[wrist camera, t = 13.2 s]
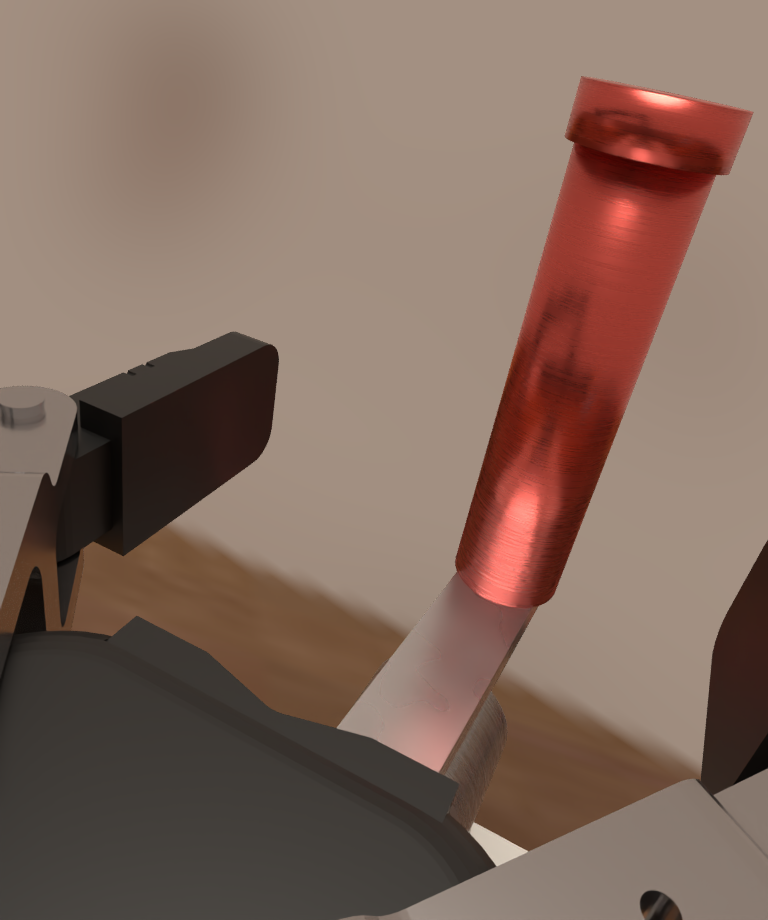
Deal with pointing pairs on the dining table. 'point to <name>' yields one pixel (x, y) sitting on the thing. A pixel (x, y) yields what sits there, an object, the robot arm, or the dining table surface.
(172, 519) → the robot arm
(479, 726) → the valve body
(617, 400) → the lever
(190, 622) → the dining table surface
